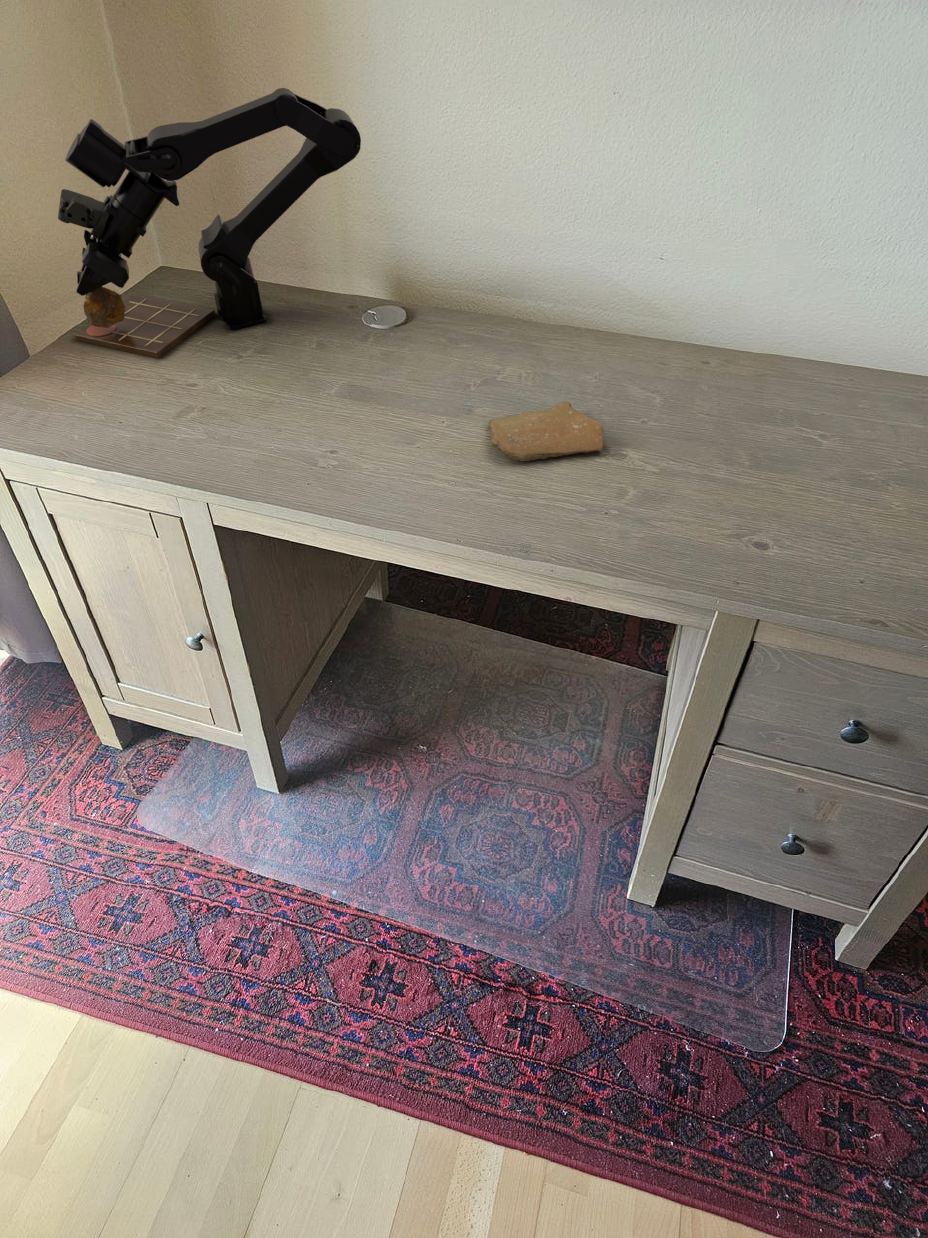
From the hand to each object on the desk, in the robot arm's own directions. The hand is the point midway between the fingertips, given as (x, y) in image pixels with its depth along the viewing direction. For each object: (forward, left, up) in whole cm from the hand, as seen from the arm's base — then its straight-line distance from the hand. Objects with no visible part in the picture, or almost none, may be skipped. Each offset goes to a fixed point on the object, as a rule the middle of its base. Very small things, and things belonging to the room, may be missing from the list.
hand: (79, 288), depth 130 cm
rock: (-1, +1, -7) cm, 7 cm away
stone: (-48, +61, -8) cm, 78 cm away
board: (-8, +1, -8) cm, 11 cm away
